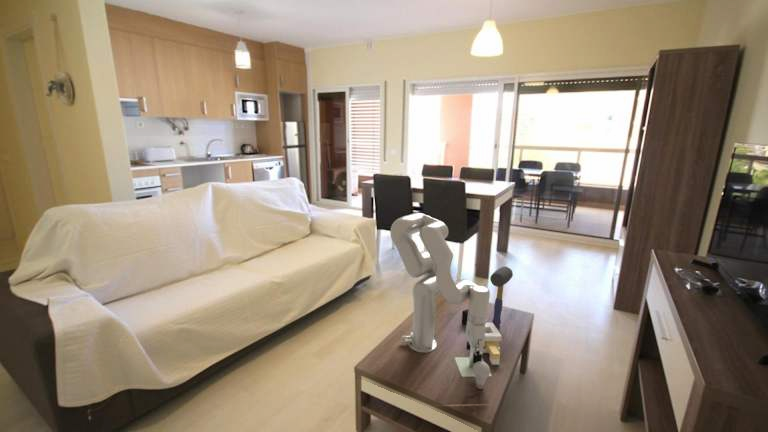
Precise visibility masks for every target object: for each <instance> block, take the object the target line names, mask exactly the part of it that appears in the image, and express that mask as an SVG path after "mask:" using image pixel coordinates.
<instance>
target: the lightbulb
mask: <svg viewBox="0 0 768 432" xmlns="http://www.w3.org/2000/svg"><path fill="white" fill-rule="evenodd" d="M489 366H490V365H488V363H486V362H485V361H484V362H483V361H478V362H476V363H475V364H474V366H473V372H474V375H475V384H476V385H475V387H476V388H477V389H478V390H482V389H484V384H485V382H486V379H487V378H488V377H490V376H489V374H490V373H491V369H490V367H489Z"/></svg>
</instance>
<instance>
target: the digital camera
mask: <svg viewBox="0 0 768 432" xmlns="http://www.w3.org/2000/svg"><path fill="white" fill-rule="evenodd" d="M467 318H468V308H467V309H465V310H462V314H461V324H462V325H464V326H465V327H466V326H467Z"/></svg>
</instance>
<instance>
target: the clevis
mask: <svg viewBox="0 0 768 432" xmlns="http://www.w3.org/2000/svg"><path fill="white" fill-rule="evenodd" d="M502 339H503V336H502V334H501V333H500V331H499V330H498V328H497V326H495V325H494V324H493V322H492V321H491V322H487V323H486V324H485V342H484V347H483V350H484V352H483V354H489V361H490V364H491V365H493V366H495V365H500V359H501V347H500V343H501V342H502V341H503V340H502ZM478 351H479V348H478Z"/></svg>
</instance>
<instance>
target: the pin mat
mask: <svg viewBox="0 0 768 432" xmlns="http://www.w3.org/2000/svg"><path fill="white" fill-rule="evenodd" d="M469 358H470V356H467V357H465V356H464V357H457V356H456V357H454V360H455V363H456V365H457V367H458V370H459V373H460V375H461V377H462V378H466V377H469V378H470V377H471V378H472V377H475V375H474V372H473V369H472V368H470V367H469ZM481 361H483V362H485V360H484V358H483V357H482V360H481ZM488 377H492V373H491V372H490V374H489V376H488ZM475 378H476V377H475Z"/></svg>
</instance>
